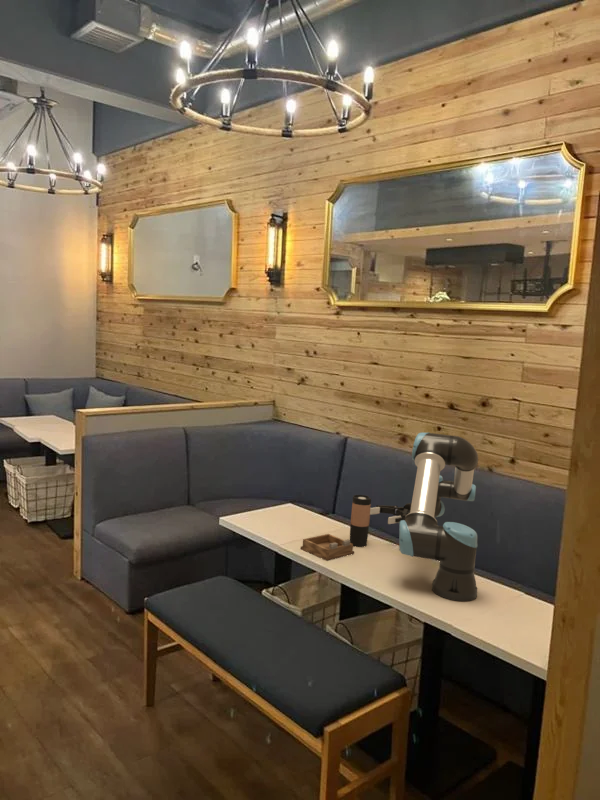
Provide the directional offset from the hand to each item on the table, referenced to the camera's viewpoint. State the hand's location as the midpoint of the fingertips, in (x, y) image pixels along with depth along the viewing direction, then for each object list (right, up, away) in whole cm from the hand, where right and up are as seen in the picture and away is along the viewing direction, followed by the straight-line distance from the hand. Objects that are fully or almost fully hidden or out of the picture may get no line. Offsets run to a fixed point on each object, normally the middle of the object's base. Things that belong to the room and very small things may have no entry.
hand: (377, 516), depth 263 cm
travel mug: (-9, -11, -4) cm, 15 cm away
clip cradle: (-22, -11, -16) cm, 29 cm away
